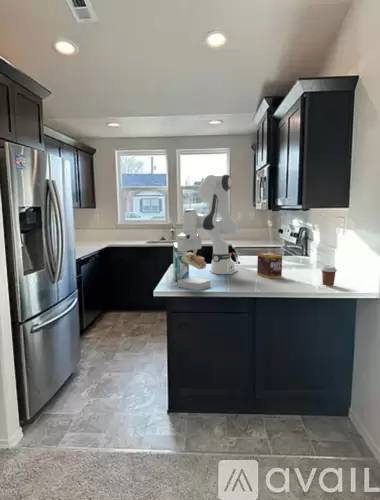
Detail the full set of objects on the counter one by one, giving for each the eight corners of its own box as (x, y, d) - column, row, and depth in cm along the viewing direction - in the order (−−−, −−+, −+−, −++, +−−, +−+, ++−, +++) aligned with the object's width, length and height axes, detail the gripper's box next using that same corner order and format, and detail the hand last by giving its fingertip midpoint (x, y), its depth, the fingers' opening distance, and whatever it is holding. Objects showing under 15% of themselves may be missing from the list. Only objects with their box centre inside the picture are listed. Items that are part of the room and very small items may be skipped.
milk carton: (175, 281, 232) (175, 243, 229) (173, 278, 241) (173, 242, 237) (188, 280, 234) (188, 243, 230) (186, 278, 242) (186, 242, 239)
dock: (190, 283, 228) (190, 276, 227) (210, 286, 218) (210, 280, 217) (177, 286, 218) (177, 280, 217) (198, 290, 208) (198, 284, 207)
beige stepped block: (187, 258, 224) (189, 251, 223) (205, 268, 216) (207, 260, 214) (180, 260, 219) (182, 252, 218) (199, 269, 211) (201, 261, 209)
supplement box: (269, 278, 240) (269, 256, 237) (256, 274, 254) (257, 253, 252) (282, 277, 243) (282, 255, 241) (269, 273, 258) (269, 252, 255)
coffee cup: (338, 285, 219) (339, 266, 217) (331, 288, 213) (332, 268, 211) (324, 283, 226) (325, 264, 224) (317, 285, 219) (318, 266, 218)
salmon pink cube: (198, 261, 218) (199, 255, 216) (203, 264, 215) (204, 258, 214) (194, 262, 215) (195, 256, 213) (199, 264, 212) (200, 258, 211)
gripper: (196, 234, 227) (196, 255, 228) (175, 236, 211) (175, 258, 213) (204, 234, 223) (204, 256, 224) (183, 236, 207) (183, 259, 209)
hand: (189, 257), depth 218 cm, fingers closed on beige stepped block, 6 cm apart
